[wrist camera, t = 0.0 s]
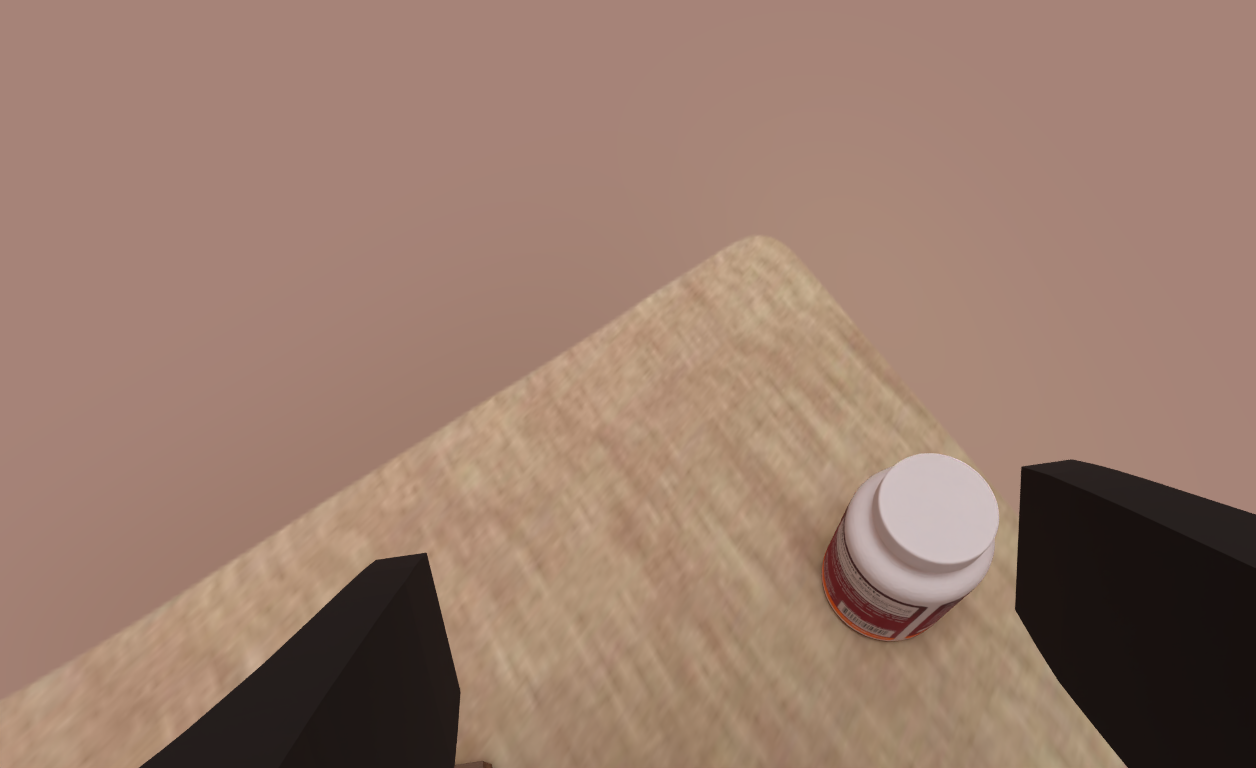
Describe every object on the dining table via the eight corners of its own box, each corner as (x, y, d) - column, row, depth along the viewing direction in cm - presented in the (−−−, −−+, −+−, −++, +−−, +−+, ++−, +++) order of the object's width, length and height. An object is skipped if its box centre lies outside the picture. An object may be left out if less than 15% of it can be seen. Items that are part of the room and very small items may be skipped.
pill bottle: (921, 516, 43) (992, 425, 34) (959, 634, 40) (1048, 571, 31) (806, 532, 43) (842, 445, 34) (835, 652, 40) (884, 594, 31)
